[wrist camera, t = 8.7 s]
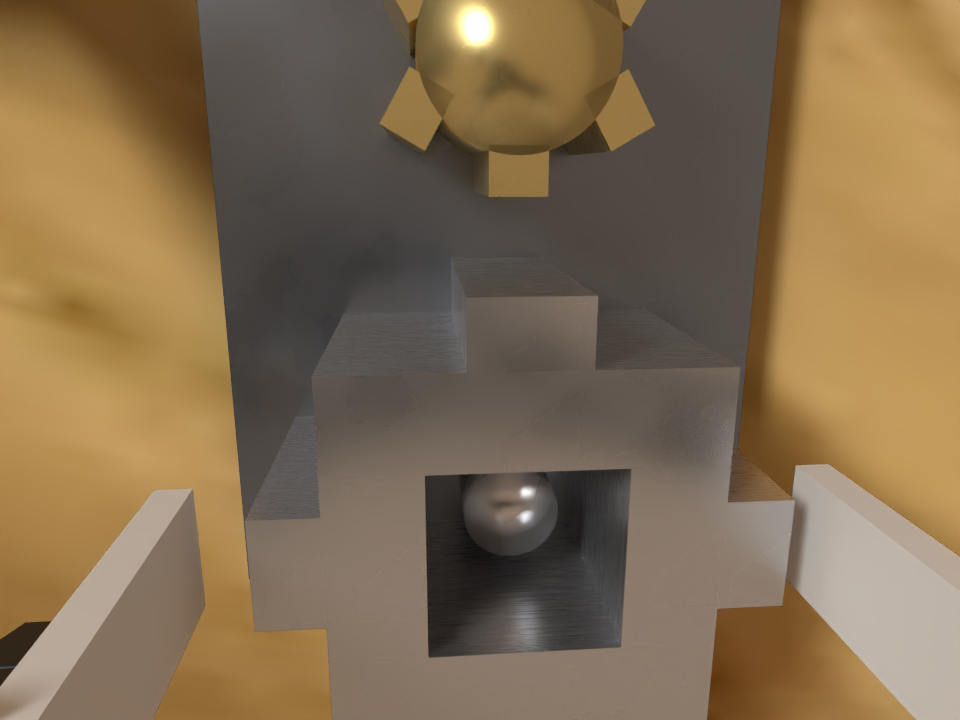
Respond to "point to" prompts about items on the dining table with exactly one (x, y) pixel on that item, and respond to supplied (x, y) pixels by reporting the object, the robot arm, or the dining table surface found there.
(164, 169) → the dining table surface
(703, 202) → the carrier
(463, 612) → the planet gear
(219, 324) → the dining table surface
